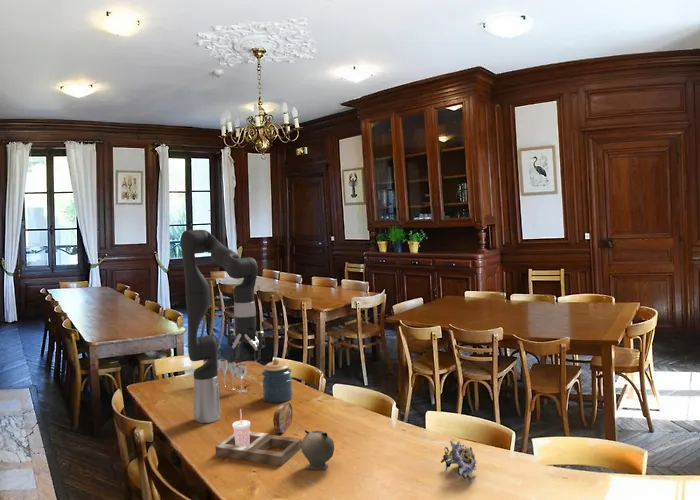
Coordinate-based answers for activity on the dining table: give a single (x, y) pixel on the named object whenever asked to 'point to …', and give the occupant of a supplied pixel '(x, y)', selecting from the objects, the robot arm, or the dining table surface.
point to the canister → (277, 382)
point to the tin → (282, 418)
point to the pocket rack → (260, 448)
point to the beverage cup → (242, 432)
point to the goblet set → (231, 370)
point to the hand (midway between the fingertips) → (247, 358)
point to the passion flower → (460, 459)
